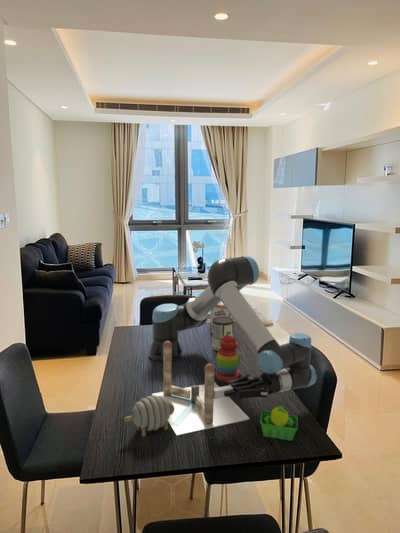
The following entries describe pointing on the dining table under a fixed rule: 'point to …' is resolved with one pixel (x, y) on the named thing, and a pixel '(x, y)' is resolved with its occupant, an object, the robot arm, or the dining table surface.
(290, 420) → the fruit basket
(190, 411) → the card
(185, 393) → the wooden post with ball
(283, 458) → the dining table surface
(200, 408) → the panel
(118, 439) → the dining table surface
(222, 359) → the stacking bear
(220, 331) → the coffee can
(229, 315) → the candy bar box
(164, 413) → the toy sheep
